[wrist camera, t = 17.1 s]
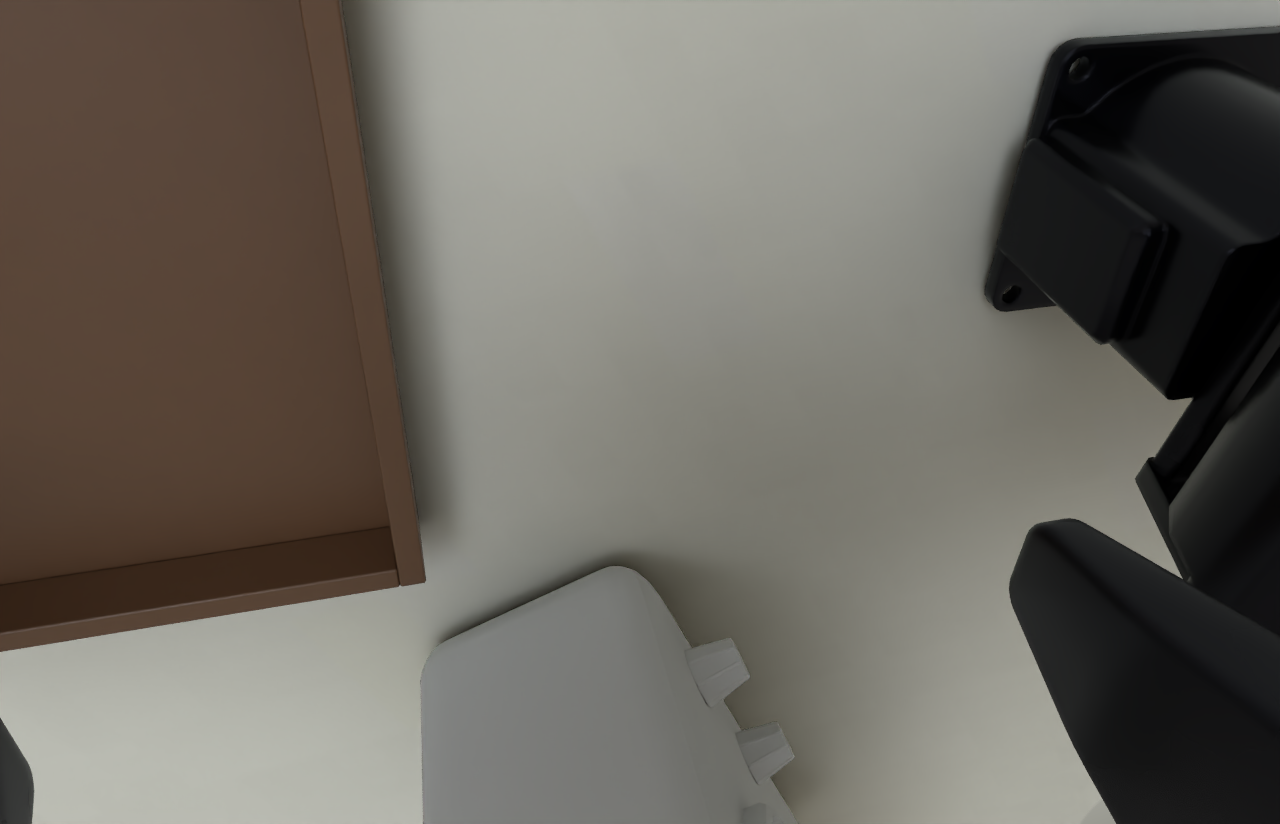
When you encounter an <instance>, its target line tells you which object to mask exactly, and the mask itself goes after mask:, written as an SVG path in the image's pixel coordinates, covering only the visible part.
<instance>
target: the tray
mask: <svg viewBox="0 0 1280 824" xmlns="http://www.w3.org/2000/svg"><path fill="white" fill-rule="evenodd" d="M425 581H426V576H425V568H424V559H423V551H422V542H421V534H420V526H419V519H418V512H417V505H416V499H415V492H414V485H413V478H412V471H411V465H410V458H409V451H408V444H407V438H406V431H405V424H404V417H403V411H402V404H401V397H400V390H399V384H398V377H397V370H396V363H395V357H394V350H393V343H392V336H391V330H390V323H389V316H388V309H387V303H386V296H385V289H384V282H383V276H382V269H381V262H380V255H379V248H378V242H377V235H376V228H375V221H374V215H373V208H372V201H371V194H370V188H369V181H368V174H367V167H366V161H365V154H364V147H363V140H362V134H361V127H360V120H359V113H358V107H357V100H356V93H355V86H354V80H353V73H352V66H351V59H350V52H349V46H348V39H347V32H346V25H345V19H344V12H343V5H342V0H0V652H2V651H8V650H14V649H21V648H27V647H33V646H39V645H45V644H51V643H57V642H63V641H69V640H76V639H82V638H88V637H94V636H100V635H106V634H112V633H118V632H125V631H131V630H137V629H143V628H149V627H155V626H161V625H167V624H174V623H180V622H186V621H192V620H198V619H204V618H210V617H216V616H222V615H229V614H235V613H241V612H247V611H253V610H259V609H265V608H271V607H278V606H284V605H290V604H296V603H302V602H308V601H314V600H320V599H327V598H333V597H339V596H345V595H351V594H357V593H363V592H369V591H376V590H382V589H388V588H394V587H398V586H399V585H401V586H407V585H413V584H419V583H424V582H425Z"/></svg>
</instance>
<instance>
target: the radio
mask: <svg viewBox="0 0 1280 824" xmlns="http://www.w3.org/2000/svg"><path fill="white" fill-rule="evenodd" d="M749 678H750V674H749V672H748V669H747V667H746V665H745V663H744V661H743V659H742V657H741V655H740V653H739V651H738V649H737V647H736V645H735V644H734V642H733V640H732V639H731V638H727V639H723V640H719V641H716V642H712V643H708V644H705V645H701V646H697V647H694V648H691V646H690V644H689V643H688V641H687V639H686V638H685V636H684V635H683V633H682V631H681V630H680V628H679V626H678V625H677V623H676V621H675V620H674V618H673V616H672V615H671V613H670V611H669V610H668V608H667V607H666V605H665V603H664V602H663V600H662V599H661V597H660V596H659V594H658V593H657V591H656V590H655V589H654V588H653V586H652V585H651V584H650V583H649V582H648V581H647V580H646V579H645V578H644V577H643V576H641V575H640V574H639V573H638V572H637V571H635V570H632V569H629V568H626V567H622V566H610V567H606V568H603V569H600V570H598V571H596V572H594V573H592V574H589V575H587V576H585V577H583V578H581V579H579V580H576V581H574V582H572V583H570V584H568V585H566V586H563V587H561V588H559V589H557V590H555V591H552V592H550V593H548V594H546V595H544V596H542V597H539V598H537V599H535V600H533V601H531V602H529V603H526V604H524V605H522V606H520V607H518V608H516V609H513V610H511V611H509V612H507V613H505V614H502V615H500V616H498V617H496V618H494V619H492V620H489V621H487V622H485V623H483V624H481V625H479V626H476V627H474V628H472V629H470V630H468V631H466V632H463V633H461V634H459V635H457V636H455V637H452V638H450V639H448V640H446V641H444V642H443V643H441V644H439V645H438V646H437V647H436V648H435V649H434V650H433V651H432V652H431V653H430V655H429V657H428V659H427V660H426V663H425V665H424V668H423V670H422V675H421V680H420V686H421V735H422V788H423V824H798V822H797V821H796V819H795V817H794V816H793V814H792V812H791V811H790V809H789V808H788V806H787V804H786V803H785V801H784V799H783V798H782V796H781V794H780V793H779V791H778V789H777V788H776V786H775V784H774V783H773V781H772V780H771V778H770V777H771V776H772V775H774V774H775V773H776V772H777V771H779V770H780V769H781V768H782V767H784V766H785V765H786V764H787V763H789V762H790V761H791V760H793V759H794V758H795V756H794V754H793V751H792V749H791V747H790V745H789V743H788V741H787V739H786V737H785V735H784V733H783V731H782V729H781V727H780V725H779V724H778V722H772V723H769V724H765V725H761V726H757V727H754V728H750V729H746V730H741V728H740V727H739V725H738V723H737V722H736V720H735V719H734V717H733V715H732V714H731V712H730V710H729V709H728V707H727V705H726V704H725V702H724V700H723V699H724V698H725V697H726V696H728V695H729V694H730V693H732V692H733V691H734V690H735V689H737V688H738V687H739V686H740V685H742V684H743V683H744V682H745V681H747V680H748V679H749Z"/></svg>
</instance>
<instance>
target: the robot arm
mask: <svg viewBox="0 0 1280 824" xmlns="http://www.w3.org/2000/svg"><path fill="white" fill-rule="evenodd" d="M1079 58H1080V63H1079V65H1078V67H1077V68H1076V69H1075V70H1074V71H1073V72H1072V73H1069V69H1070V67H1071V65H1072V64H1073V63H1074V62H1075V61H1076V60H1077V59H1079ZM1011 286H1012V287H1011ZM1009 287H1011V289H1010V290H1009V291H1008V292H1006V293H1005V294H1003V293H1004V292H1005V290H1006V289H1008V288H1009ZM985 296H986V299H987V300H988V301H989V302H990V303H991V304H992V305H993V306H994V307H995V308H996V309H997V310H999V311H1004V312H1008V311H1016V310H1025V309H1033V308H1041V307H1049V306H1058V307H1059V308H1060V309H1061V310H1062V311H1063V312H1064V313H1066V314H1067V315H1068V316H1069V317H1070V318H1071V319H1072V320H1073V321H1074V322H1075V323H1076V324H1077V325H1078V326H1079V327H1080V328H1081V329H1082V330H1083V331H1084V332H1085V333H1086V334H1087V335H1088V336H1090V337H1091V338H1092V339H1093V340H1094V341H1095V342H1096V343H1098V344H1100V345H1102V344H1110V345H1111V346H1112V347H1113V348H1114V349H1115V350H1116V351H1117V352H1118V353H1119V354H1120V355H1121V356H1122V357H1123V358H1124V359H1126V360H1127V361H1128V362H1129V363H1130V364H1131V365H1132V366H1133V367H1134V368H1135V369H1136V370H1137V371H1138V372H1139V373H1140V374H1141V375H1142V376H1144V377H1145V378H1146V379H1147V380H1148V381H1149V382H1150V383H1151V384H1152V385H1153V386H1154V387H1155V388H1156V389H1157V390H1158V391H1159V392H1161V393H1162V394H1163V395H1164V396H1165V397H1166V398H1167V399H1168V400H1178V399H1185V398H1192V401H1191V402H1190V404H1189V405H1188V407H1187V408H1186V410H1185V411H1184V413H1183V414H1182V416H1181V417H1180V419H1179V420H1178V422H1177V424H1176V425H1175V427H1174V428H1173V430H1172V431H1171V433H1170V434H1169V436H1168V437H1167V439H1166V440H1165V442H1164V443H1163V445H1162V447H1161V448H1160V450H1159V451H1158V453H1157V454H1156V456H1155V457H1150V458H1148V460H1147V461H1146V463H1145V464H1144V466H1143V467H1142V469H1141V470H1140V472H1139V473H1138V475H1137V476H1136V478H1135V480H1136V483H1137V485H1138V487H1139V489H1140V491H1141V493H1142V495H1143V498H1144V500H1145V502H1146V504H1147V506H1148V508H1149V510H1150V512H1151V514H1152V516H1153V518H1154V520H1155V522H1156V524H1157V526H1158V528H1159V531H1160V533H1161V535H1162V537H1163V539H1164V541H1165V543H1166V545H1167V547H1168V549H1169V551H1170V553H1171V555H1172V557H1173V559H1174V562H1175V564H1176V566H1177V568H1178V570H1179V572H1180V574H1181V576H1182V578H1183V579H1181V578H1180V577H1178V576H1176V575H1174V574H1173V573H1171V572H1169V571H1167V570H1166V569H1164V568H1162V567H1160V566H1159V565H1157V564H1155V563H1153V562H1152V561H1150V560H1148V559H1147V558H1145V557H1143V556H1141V555H1140V554H1138V553H1136V552H1134V551H1133V550H1131V549H1129V548H1127V547H1126V546H1124V545H1122V544H1120V543H1119V542H1117V541H1115V540H1114V539H1112V538H1110V537H1108V536H1107V535H1105V534H1103V533H1101V532H1100V531H1098V530H1096V529H1094V528H1093V527H1091V526H1089V525H1087V524H1086V523H1084V522H1082V521H1080V520H1076V519H1071V518H1067V519H1060V520H1054V521H1048V522H1043V523H1038V524H1036V525H1034V526H1033V527H1032V528H1031V529H1030V530H1029V532H1028V533H1027V535H1026V538H1025V541H1024V543H1023V546H1022V549H1021V551H1020V554H1019V557H1018V559H1017V562H1016V565H1015V567H1014V570H1013V573H1012V575H1011V578H1010V583H1009V593H1010V599H1011V603H1012V606H1013V609H1014V611H1015V613H1016V616H1017V618H1018V620H1019V623H1020V625H1021V627H1022V630H1023V632H1024V634H1025V637H1026V639H1027V641H1028V644H1029V646H1030V648H1031V650H1032V653H1033V655H1034V657H1035V660H1036V662H1037V664H1038V667H1039V669H1040V671H1041V674H1042V676H1043V678H1044V681H1045V683H1046V685H1047V688H1048V690H1049V692H1050V694H1051V697H1052V699H1053V701H1054V704H1055V706H1056V708H1057V711H1058V713H1059V715H1060V718H1061V720H1062V722H1063V724H1064V727H1065V729H1066V731H1067V733H1068V735H1069V737H1070V739H1071V741H1072V744H1073V746H1074V748H1075V749H1076V751H1077V753H1078V755H1079V757H1080V759H1081V761H1082V763H1083V765H1084V766H1085V768H1086V770H1087V772H1088V774H1089V776H1090V777H1091V779H1092V781H1093V783H1094V784H1095V786H1096V788H1097V790H1098V792H1099V793H1100V795H1101V797H1102V799H1103V801H1104V802H1105V804H1106V806H1107V808H1108V809H1109V811H1110V813H1111V815H1112V816H1113V818H1114V820H1115V822H1116V824H1280V26H1277V27H1260V28H1243V29H1227V30H1210V31H1194V32H1177V33H1160V34H1144V35H1127V36H1111V37H1094V38H1077V39H1073V40H1069V41H1067V42H1065V43H1064V44H1062V45H1061V46H1059V48H1058V49H1057V50H1056V51H1055V52H1054V54H1053V55H1052V57H1051V59H1050V61H1049V64H1048V67H1047V71H1046V74H1045V78H1044V81H1043V85H1042V88H1041V92H1040V95H1039V99H1038V102H1037V106H1036V109H1035V113H1034V117H1033V120H1032V124H1031V127H1030V131H1029V134H1028V138H1027V141H1026V145H1025V148H1024V150H1023V152H1022V156H1021V159H1020V163H1019V166H1018V170H1017V173H1016V177H1015V181H1014V184H1013V188H1012V191H1011V195H1010V198H1009V202H1008V205H1007V209H1006V212H1005V216H1004V220H1003V223H1002V227H1001V230H1000V234H999V237H998V241H997V248H996V251H995V255H994V258H993V262H992V265H991V269H990V272H989V276H988V279H987V283H986V286H985ZM33 801H34V783H33V777H32V772H31V769H30V767H29V764H28V762H27V761H26V759H25V757H24V756H23V754H22V752H21V751H20V749H19V748H18V746H17V744H16V743H15V741H14V739H13V738H12V736H11V735H10V733H9V731H8V730H7V728H6V726H5V725H4V723H3V721H2V720H1V718H0V824H32V815H33Z"/></svg>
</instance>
